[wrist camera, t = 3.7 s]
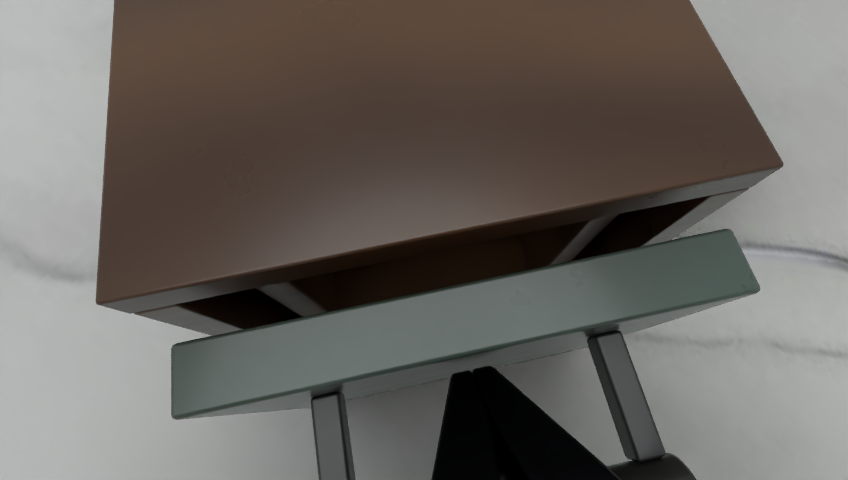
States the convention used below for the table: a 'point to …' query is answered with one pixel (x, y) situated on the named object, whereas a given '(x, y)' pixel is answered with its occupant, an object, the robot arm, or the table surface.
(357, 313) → the drawer
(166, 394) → the table surface
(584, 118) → the cabinet
